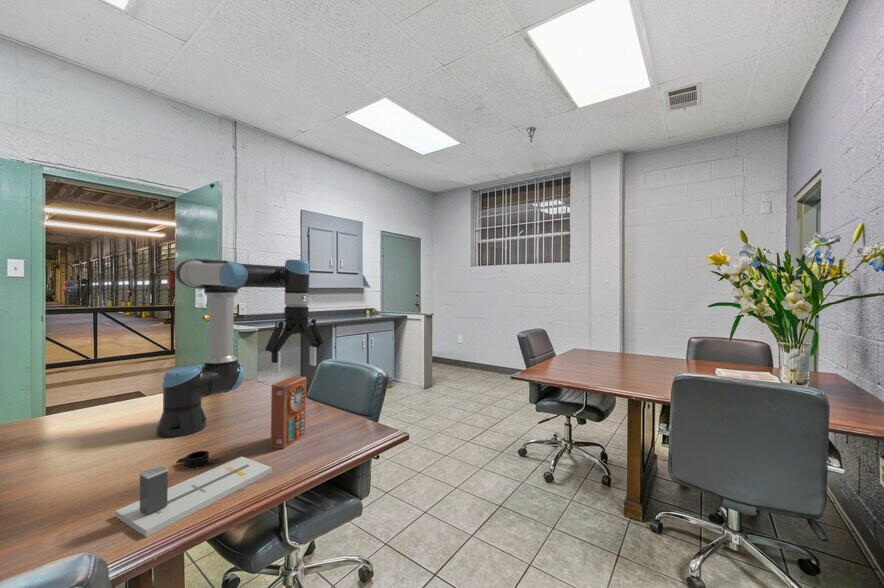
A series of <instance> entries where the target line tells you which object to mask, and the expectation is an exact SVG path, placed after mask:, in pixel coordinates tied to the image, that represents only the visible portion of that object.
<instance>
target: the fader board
mask: <svg viewBox="0 0 884 588" xmlns="http://www.w3.org/2000/svg"><path fill="white" fill-rule="evenodd" d="M272 473H273V467H272V466H269V465H266V464H263V463H260V462H258V461H255V460H252V459H249V458H248V457H244V456H239V457H237V458H235V459H231V460H230V461H228V462H226V463H223V464H221V465H218V466H216V467H214V468H211V469H209V470H207V471H205V472H202V473H200V474H198V475H195V476H193V477H190V478H188V479H186V480H184V481H182V482H178V483H177V484H175V485H172V486H170V487H168V489H167V506H166V507H164V508H162V509H159V510H157V511H155V512H153V513H151V514H149V515H147V514H145V513H143V512H142V511H140V499H139V500H137V501H135V502H132V503H131V504H129V505H126V506H123V507H121V508H119V509H116V510H115V518H116V517H117V518H116V519H118V520H119V519H120V521H121V522H122V521H123V522H122V523H124V524H125V523H126V525H127V526H128V527H130V528H131V529H133V530H134V531H135V532H137V533H139V534H141V535H142V536H143V537H145V538H148V537H150V536H151V535H154V534H155V533H157V532H159V531H161V530H163V529H165V528H167V527H169V526H170V525H173V524H174V523H177V522H179V521H181V520H182V519H185V518H186V517H188V516H190V515H192V514H194V513H196V512H199V511H200V510H201V509H204V508H205V507H208V506H209V505H211V504H213V503H215V502H217V501H219V500H221V499H223V498H225V497H227V496H229V495H231V494H233V493H235V492H237V491H238V490H240V489H242V488H245V487H248V486H249V485H250V484H253V483H254V482H257V481H258V480H260V479H262V478H264V477H266V476H268V475H270V474H272Z"/></svg>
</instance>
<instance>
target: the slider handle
mask: <svg viewBox="0 0 884 588" xmlns="http://www.w3.org/2000/svg"><path fill="white" fill-rule="evenodd" d="M168 471H169V468H168V467H166V466H163V465H162V464H159V465H155V466H153V467H151V468H148V469H145V470H143V471H140V472H139V500H140V511H142V512H143V513H145V514H147V515H149V514H151V513H153V512H155V511H157V510H159V509H162V508H164V507H166V506H167V489H168V488H169V487H168V486H169V485H168V484H169V483H168V481H169V479H168Z"/></svg>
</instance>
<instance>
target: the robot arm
mask: <svg viewBox="0 0 884 588" xmlns="http://www.w3.org/2000/svg"><path fill="white" fill-rule="evenodd" d="M309 263H310V262H309V261H308V260H304V259H286V260H285V262H284V265H264V264H252V263H251V264H250V263H241V262H240V263H239V262H235V261H231V260H219V259H204V258H190V259H186V260H183V261H181V262H179V263H178V264H177V266H176V267H175V270H174V276H175V279H176V280H177V282H178V283H179V284H180V285H182V286H185V287H187V288H190V289H196V290H197V289H200V290H201V289H202V290H203V291H204V295H205V296H207V297H208V357H207V358H206V359H205V360H204V363H203V366H202V365H201V364H199V363H197V364H196V363H195V364H192V363H191V364H185V365H180V366H177V367H173V368H171V369H169V370H168V371H166V372H165V373H164V375H163V383H162V397H163V398H162V404H163V405H162V407H163V408H162V414H161V416H160V419H159V421H158V424H157V426H156V435H157V434H158V435H159V437H161V436H162V437H161V438H176V437H182V436H187V435H191V434H194V433H198V432H199V431H201V430H202V431H203V429H205V428H206V427H207V417H206V415H205V411H204V409H203V406H202V398H205V397H210V396H214V395H218V394H223V393H224V394H225V393H229V392H231V391H235V390H236V389H238V388H239V387H240V386H241V385H242V384H243V381H244V379H245V370H244V366H243V364H242V362H240V361H238V360H239V359H238V357H236V356H235V355H234V298H235V297H236V296H237V295H238V292H239V291H238V290H240V289H242V288H271V289H273V288H274V289H278V288H279V289H282V288H284V305H285V307H284V310H283V311H284V314H283V315H284V321H279V320H276V321H275V322H274V323H275V325H274V329H273V330H272V331H273V332H272V333H271V335H270V338H269V341H268V342H267V344H266V346H265V347H264V348H265V351H266V352H269V353H271V363H273V367H272V369H273V373H276V374H281V366H282V365H281V363H282V361H281V359H282V353H281V352H279V351H280V350H281V348H283V346H284V345H285V343H286V342H287V341H288V339H289V337H291V336H292V335H296V334H303V336H304V337H305V338H306V339H307V342H309V344H311V345H310V346H309V366H313V367H316V366H317V356H318V355H319V348H320V347H321V345H323V344H324V341H323V339H322V336H321V334H320V331H319V329H318V327H317V320H316V319H315V318H309V319H308V317H309V311H310V308H309V306H308V305H309V304H310V303H309V302H310V301H309V300H310V297H309V296H310V273H311V272H310V264H309ZM308 326H309V327H308ZM158 435H157V436H158Z"/></svg>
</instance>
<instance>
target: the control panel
mask: <svg viewBox="0 0 884 588" xmlns="http://www.w3.org/2000/svg"><path fill="white" fill-rule="evenodd" d="M270 400H271V401H270V402H271V405H270V406H271V407H270V412H271V413H270V448H279V449H286V448H287V447H289V446H290V445H292V444H293V443H294V442H296V441H297V440H299V439H300V438H302V437H303V436H305V435H304V434H306V420H307V419H306V418H307V417H306V416H307V415H306V414H307V407H306V406H307V377H306V376H299V375H298V376H297V375H293V376H290V377H289V378H288V377H287V378H285V379H282V380H280V381H278V382H276V383H273V384H271V399H270Z"/></svg>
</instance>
